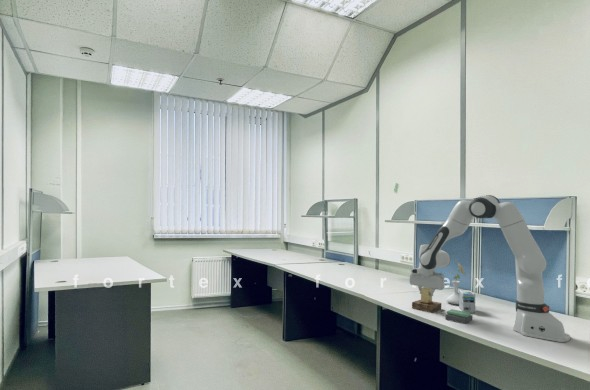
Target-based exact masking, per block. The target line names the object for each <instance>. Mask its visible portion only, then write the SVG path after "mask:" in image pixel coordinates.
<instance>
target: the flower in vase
mask: <svg viewBox="0 0 590 390" xmlns="http://www.w3.org/2000/svg"><path fill="white" fill-rule="evenodd" d="M457 267H458V271H457V273H456V275H455V276H454V277H453V279H455V280H451V283H452V284H453V293H452V294H450V295H449V296H448V297H446V299H445V301H446V302H447V303H449V304H452V305H458V306H459V285H460V283H461V281H460V280H457V279H461V277H460V275H459V273H460V272H461V273H462V275H464V276H465V275H466V272H465V269H464V268H463V265H461V263H460V262H458V263H457Z"/></svg>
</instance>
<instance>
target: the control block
mask: <svg viewBox="0 0 590 390" xmlns="http://www.w3.org/2000/svg"><path fill="white" fill-rule="evenodd" d="M473 319H474V316H473V315H472V314H471V316H469V317H462V316H457V315H452V314H448V313H446V314H445V320H447V321H451V322H455V323H459V324H464V325H465V324H468V323H471V321H473Z"/></svg>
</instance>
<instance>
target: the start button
mask: <svg viewBox="0 0 590 390" xmlns="http://www.w3.org/2000/svg"><path fill="white" fill-rule="evenodd" d="M446 314H452V315H457V316H462V317H469V316H471V315H472V313H468V312H463V311H462V310H458V309H455V308H454V309H453V308H452V309H449V310H447V312H446Z"/></svg>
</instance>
